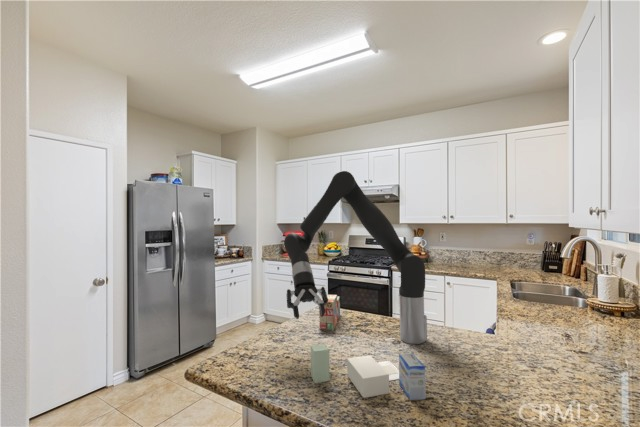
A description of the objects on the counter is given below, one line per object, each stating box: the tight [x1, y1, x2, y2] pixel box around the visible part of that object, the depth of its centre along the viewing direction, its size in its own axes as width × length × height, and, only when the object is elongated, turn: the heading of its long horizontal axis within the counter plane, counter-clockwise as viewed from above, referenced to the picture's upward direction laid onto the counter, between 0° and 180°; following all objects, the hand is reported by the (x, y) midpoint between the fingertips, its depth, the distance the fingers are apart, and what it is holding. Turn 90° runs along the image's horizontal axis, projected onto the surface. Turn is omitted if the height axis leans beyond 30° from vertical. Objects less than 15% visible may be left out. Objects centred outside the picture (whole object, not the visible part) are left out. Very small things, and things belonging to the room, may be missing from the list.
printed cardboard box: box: [319, 294, 341, 331], centre depth 138 cm, size 21×6×12 cm, turn 169°
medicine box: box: [398, 352, 427, 401], centre depth 80 cm, size 8×4×9 cm, turn 5°
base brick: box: [346, 354, 390, 399], centre depth 84 cm, size 8×12×5 cm, turn 15°
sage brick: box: [310, 343, 331, 384], centre depth 88 cm, size 4×4×9 cm
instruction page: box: [376, 360, 399, 382], centre depth 91 cm, size 8×11×1 cm
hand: (310, 316), depth 99 cm, fingers open, 8 cm apart
